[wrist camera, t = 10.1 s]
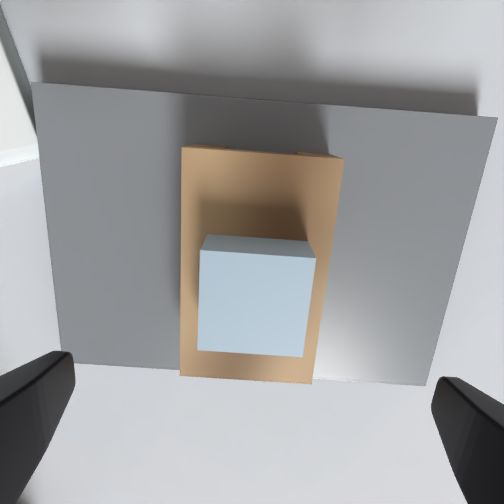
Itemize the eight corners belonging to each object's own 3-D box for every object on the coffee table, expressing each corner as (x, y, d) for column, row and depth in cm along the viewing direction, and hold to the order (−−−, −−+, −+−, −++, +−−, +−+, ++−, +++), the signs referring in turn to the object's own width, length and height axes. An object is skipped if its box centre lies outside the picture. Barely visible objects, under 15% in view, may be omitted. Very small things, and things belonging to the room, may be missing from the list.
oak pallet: (191, 339, 19) (180, 375, 17) (194, 143, 16) (181, 147, 13) (303, 346, 20) (311, 384, 17) (329, 153, 16) (344, 159, 13)
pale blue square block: (204, 323, 16) (197, 350, 14) (207, 234, 14) (200, 250, 13) (297, 329, 16) (302, 357, 14) (308, 241, 14) (316, 258, 13)
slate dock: (75, 346, 21) (62, 362, 20) (49, 85, 17) (30, 81, 15) (414, 369, 22) (425, 386, 20) (478, 118, 17) (498, 117, 16)
